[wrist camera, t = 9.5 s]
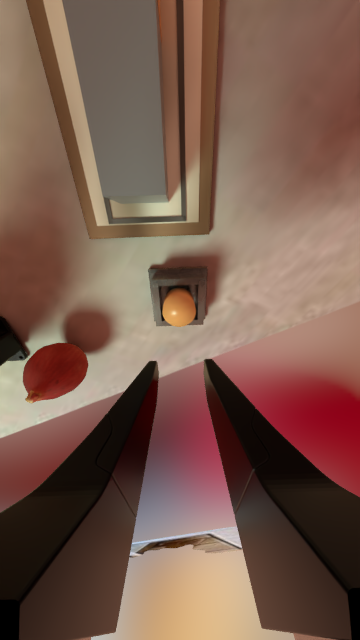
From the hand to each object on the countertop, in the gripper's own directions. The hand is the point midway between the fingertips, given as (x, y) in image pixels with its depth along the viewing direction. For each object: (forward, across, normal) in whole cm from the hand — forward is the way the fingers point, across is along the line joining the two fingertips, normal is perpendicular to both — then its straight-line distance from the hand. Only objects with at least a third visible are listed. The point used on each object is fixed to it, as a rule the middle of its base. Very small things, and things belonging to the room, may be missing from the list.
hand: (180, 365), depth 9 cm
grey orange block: (+10, +2, -14) cm, 17 cm away
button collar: (+10, 0, 0) cm, 10 cm away
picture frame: (+11, +2, -14) cm, 18 cm away
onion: (+11, +14, +7) cm, 19 cm away
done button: (+9, 0, 0) cm, 9 cm away
